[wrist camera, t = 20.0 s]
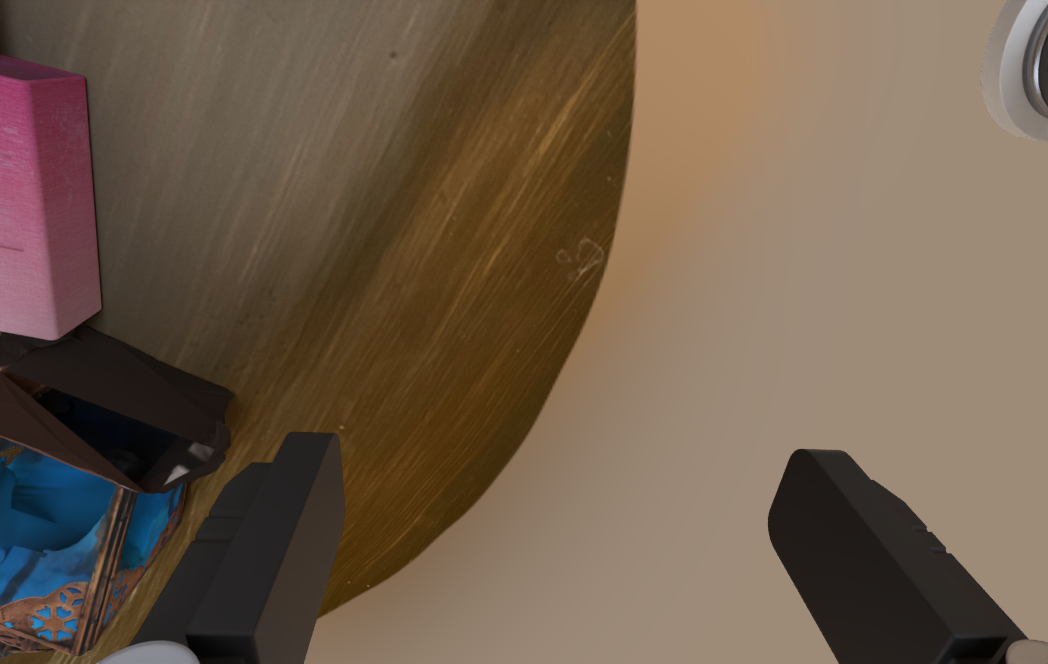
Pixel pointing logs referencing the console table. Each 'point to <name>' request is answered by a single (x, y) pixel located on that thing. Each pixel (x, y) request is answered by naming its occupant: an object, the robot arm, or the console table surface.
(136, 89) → the console table surface
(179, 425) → the lantern
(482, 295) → the console table surface
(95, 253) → the popsicle
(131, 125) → the console table surface
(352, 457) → the console table surface
